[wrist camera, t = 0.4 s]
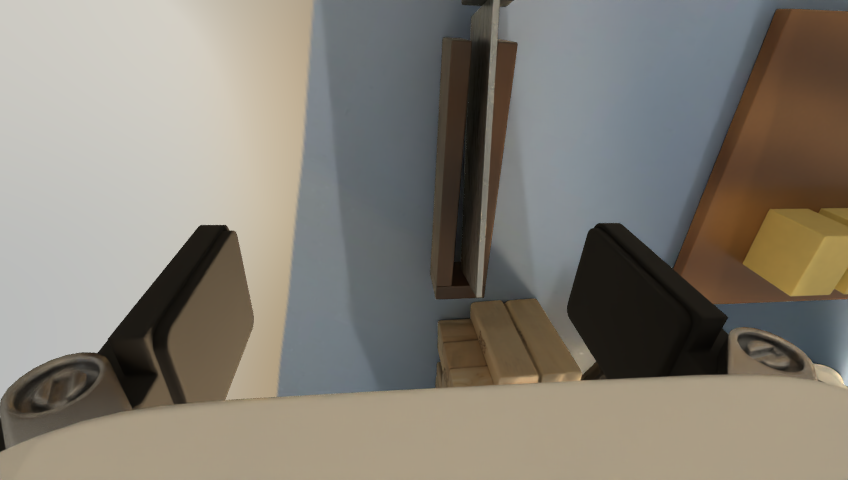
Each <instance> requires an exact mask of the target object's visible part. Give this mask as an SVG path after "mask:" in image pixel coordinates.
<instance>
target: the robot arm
mask: <svg viewBox="0 0 848 480" xmlns="http://www.w3.org/2000/svg"><path fill="white" fill-rule="evenodd" d="M567 313H568V317H569V319H570V320H571V322H572V323H573V325H574V327H575V328H576V330H577V331H578V333H579V335H580V336H581V338H582V339H583V341H584V342H585V344H586V346H587V347H588V349H589V350H590V352H591V354H592V355H593V357H594V358H595V360H596V362H597V363H598V365H599V366H600V368H601V370H602V371H603V373H604V374H605V376H606V378H607V379H605V380H584V381H564V382H544V383H525V384H505V385H486V386H467V387H448V388H429V389H411V390H393V391H375V392H357V393H340V394H323V395H305V396H288V397H271V398H253V399H236V400H225V399H226V396H227V393H228V391H229V388H230V385H231V383H232V380H233V378H234V375H235V373H236V370H237V367H238V365H239V362H240V360H241V357H242V354H243V352H244V349H245V346H246V343H247V341H248V338H249V336H250V333H251V331H252V327H253V322H254V316H253V310H252V305H251V300H250V295H249V291H248V286H247V281H246V276H245V271H244V266H243V261H242V256H241V252H240V247H239V242H238V237H237V234H236V232H235V231H229V229H228V227H227V226H226V225H200V226H199V227H198V228H197V229H196V231H195V232H194V233H193V234H192V236H191V237H190V238H189V239H188V241H187V242H186V243H185V244H184V245H183V247H182V248H181V249H180V250H179V252H178V253H177V254H176V255H175V257H174V258H173V259H172V260H171V262H170V263H169V264H168V265H167V267H166V268H165V269H164V270H163V272H162V273H161V274H160V275H159V277H158V278H157V279H156V280H155V281H154V283H153V284H152V285H151V287H150V288H149V289H148V290H147V291H146V293H145V294H144V295H143V296H142V297H141V299H140V300H139V301H138V303H137V304H136V305H135V306H134V307H133V309H132V310H131V311H130V312H129V314H128V315H127V316H126V317H125V318H124V320H123V321H122V322H121V323H120V325H119V326H118V327H117V328H116V330H115V331H114V332H113V333H112V335H111V336H110V337H109V338H108V341H107V342H106V343H105V344H104V346H103V347H102V348H101V350H100V351H99V352H98V353H76V354H71V355H65V356H62V357H59V358H56V359H53V360H51V361H48V362H46V363H44V364H42V365H40V366H38V367H36V368H34V369H32V370H31V371H29V372H28V373H26V374H25V375H23V376H22V377H20V378H19V379H18V380H17V381H16V382H15V383H14V384H13V385H11V386H10V387H9V388H8V390H7V391H6V393H5V394H4V396H3V397H2V399H1V402H0V480H848V388H845V387H841V386H836V385H832V384H828V383H825V382H822V381H820V380H818V379H817V375H816V370H815V367H814V365H813V363H812V361H811V359H810V358H809V357H808V356H807V355H806V354H805V353H804V352H803V351H802V350H800V349H799V348H798V347H796V346H795V345H794V344H792V343H790V342H789V341H787V340H785V339H783V338H781V337H779V336H777V335H774V334H772V333H770V332H767V331H763V330H760V329H756V328H748V327H741V328H735V329H733V330H731V331H730V333H729V334H728V333H726V332H725V331H724V330H723V329H722V328H723V326H724V324H725V322H726V320H727V319H728V317H727V316H726V315H725V314H724V313H723V312H722V311H720V310H719V309H718V308H717V307H716V306H715V305H714V304H712V303H711V302H710V301H709V300H708V299H707V298H706V297H704V296H703V295H702V294H701V293H700V292H699V291H698V290H696V289H695V288H694V287H693V286H692V285H691V284H690V283H688V282H687V281H686V280H685V279H684V278H683V277H682V276H680V275H679V274H678V273H677V272H676V271H675V270H674V269H672V268H671V267H670V266H669V265H668V264H667V263H666V262H664V261H663V260H662V259H661V258H660V257H659V256H658V255H656V254H655V253H654V252H653V251H652V250H651V249H649V248H648V247H647V246H646V245H645V244H644V243H643V242H641V241H640V240H639V239H638V238H637V237H636V236H635V235H633V234H632V233H631V232H630V231H629V230H628V229H627V228H625V227H624V226H623V225H622V224H620V223H598V224H597V225H596V226H595V227H594V228H592V229H590V230H589V232H588V234H587V238H586V241H585V245H584V248H583V252H582V255H581V259H580V262H579V266H578V269H577V273H576V276H575V280H574V283H573V287H572V290H571V294H570V297H569V301H568V305H567Z"/></svg>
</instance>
